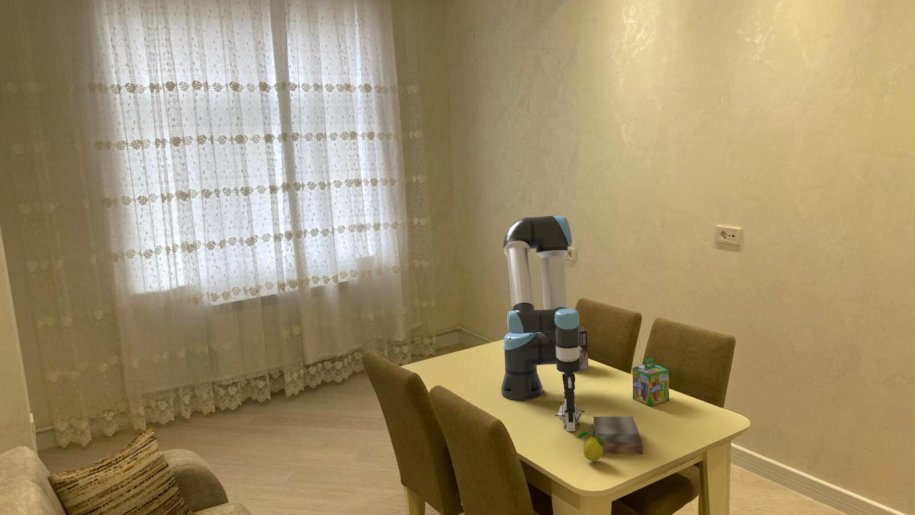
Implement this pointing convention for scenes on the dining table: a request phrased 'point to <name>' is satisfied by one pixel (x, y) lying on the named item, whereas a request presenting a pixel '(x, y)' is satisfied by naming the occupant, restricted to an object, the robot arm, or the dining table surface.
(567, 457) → the dining table surface
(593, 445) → the lemon
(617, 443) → the tower base
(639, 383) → the chalk box
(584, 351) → the coffee box
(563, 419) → the game die
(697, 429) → the dining table surface
